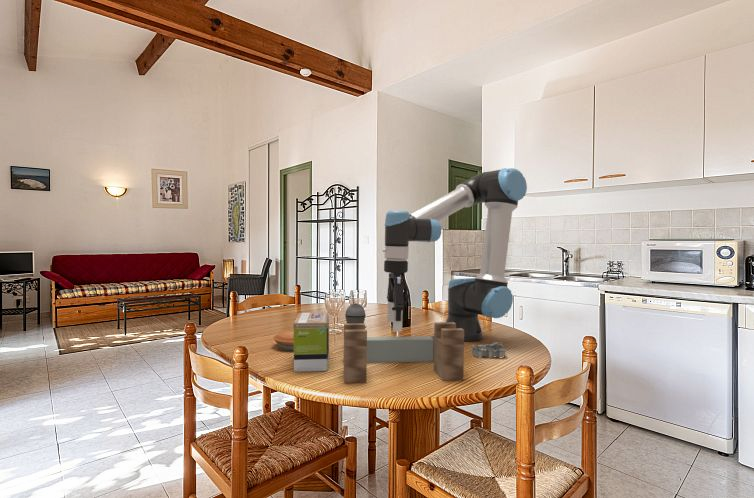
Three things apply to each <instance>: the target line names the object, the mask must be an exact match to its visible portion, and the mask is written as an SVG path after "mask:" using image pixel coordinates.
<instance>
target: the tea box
mask: <svg viewBox="0 0 754 498" xmlns="http://www.w3.org/2000/svg"><path fill="white" fill-rule="evenodd" d="M292 327H293V329H292V330H293V333H294V351H293V371H294V372H296V373H298V372H300V373H301V372H302V373H303V372H304V373H305V372H307V373H308V372H327V371H328V366H329V361H330V359H329V357H330V319H329V312H328V311H327V312H325V311H324V312H298V313H297V315H296V319H295V320H294V322H293V326H292Z"/></svg>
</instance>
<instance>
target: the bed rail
mask: <svg viewBox="0 0 754 498" xmlns="http://www.w3.org/2000/svg"><path fill="white" fill-rule="evenodd" d="M408 362H409V363H411V362H413V363H416V362H419V363H420V362H434V335H433V336H430V335H429V336H428V335H427V336H421V335H420V336H367V364H368V363H408Z"/></svg>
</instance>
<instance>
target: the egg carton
mask: <svg viewBox="0 0 754 498" xmlns="http://www.w3.org/2000/svg"><path fill="white" fill-rule="evenodd" d="M506 351H507V350H506V349H505V347H504V346H503V344H502V342H501V341H497V342H496V341H494V342H492V343H491V344H490V343H487V344H479V345H475V344H471V354H472V353H473V357H474V356H475V358H478V357H482V358H484V357H483V356H486V357H485V358H488V357H489V358H488V359H491V358H490V357H493V356H497V357H503V356H505V357H506ZM497 357H496V358H497ZM493 358H494V357H493Z"/></svg>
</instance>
